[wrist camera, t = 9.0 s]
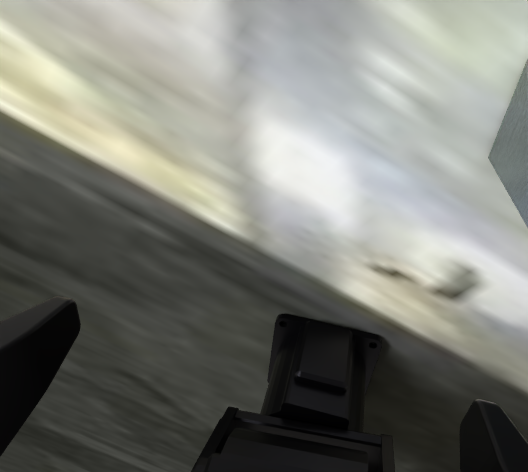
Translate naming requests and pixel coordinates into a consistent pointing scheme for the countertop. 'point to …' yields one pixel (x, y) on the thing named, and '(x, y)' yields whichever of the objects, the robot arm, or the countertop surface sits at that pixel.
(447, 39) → the countertop surface
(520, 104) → the box
